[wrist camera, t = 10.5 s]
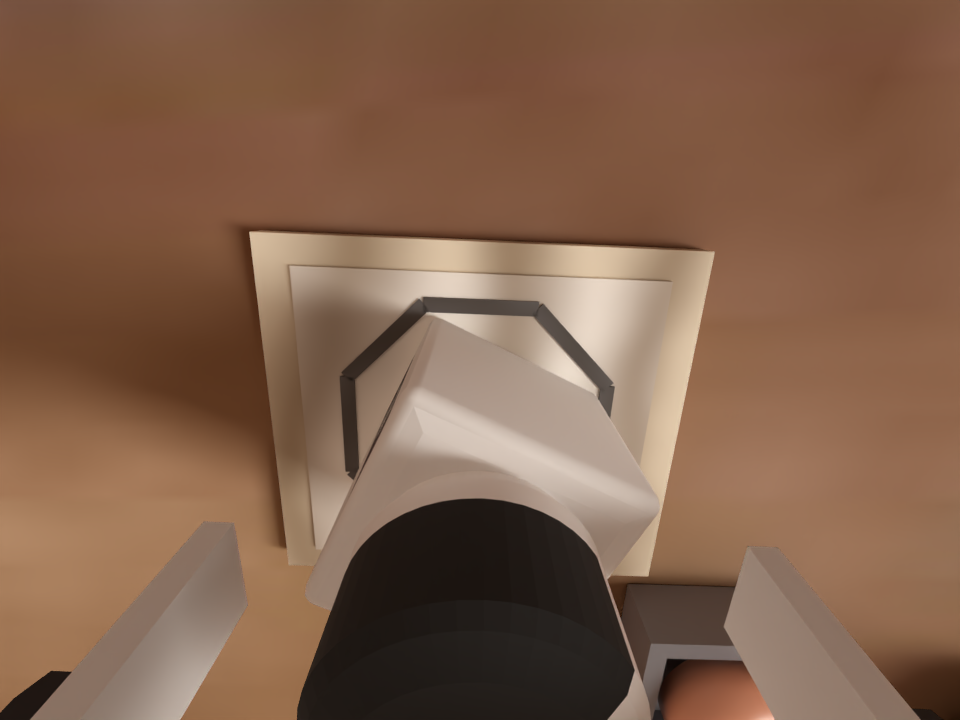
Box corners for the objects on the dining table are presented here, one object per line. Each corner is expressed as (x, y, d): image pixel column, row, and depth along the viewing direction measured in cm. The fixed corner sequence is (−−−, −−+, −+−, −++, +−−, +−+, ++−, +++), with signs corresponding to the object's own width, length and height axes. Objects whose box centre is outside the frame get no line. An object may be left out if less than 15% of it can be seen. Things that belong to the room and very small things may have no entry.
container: (361, 462, 21) (185, 849, 8) (434, 312, 18) (344, 536, 6) (512, 526, 22) (556, 950, 9) (598, 393, 19) (804, 720, 7)
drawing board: (702, 249, 19) (718, 252, 17) (641, 561, 24) (650, 581, 23) (260, 230, 18) (245, 232, 17) (296, 550, 24) (286, 569, 22)
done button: (789, 652, 23) (825, 704, 20) (759, 734, 25) (789, 790, 22) (668, 648, 22) (691, 700, 20) (649, 731, 24) (667, 787, 22)
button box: (794, 589, 24) (843, 649, 21) (754, 705, 27) (791, 774, 24) (627, 583, 24) (651, 643, 21) (605, 701, 27) (622, 770, 24)
